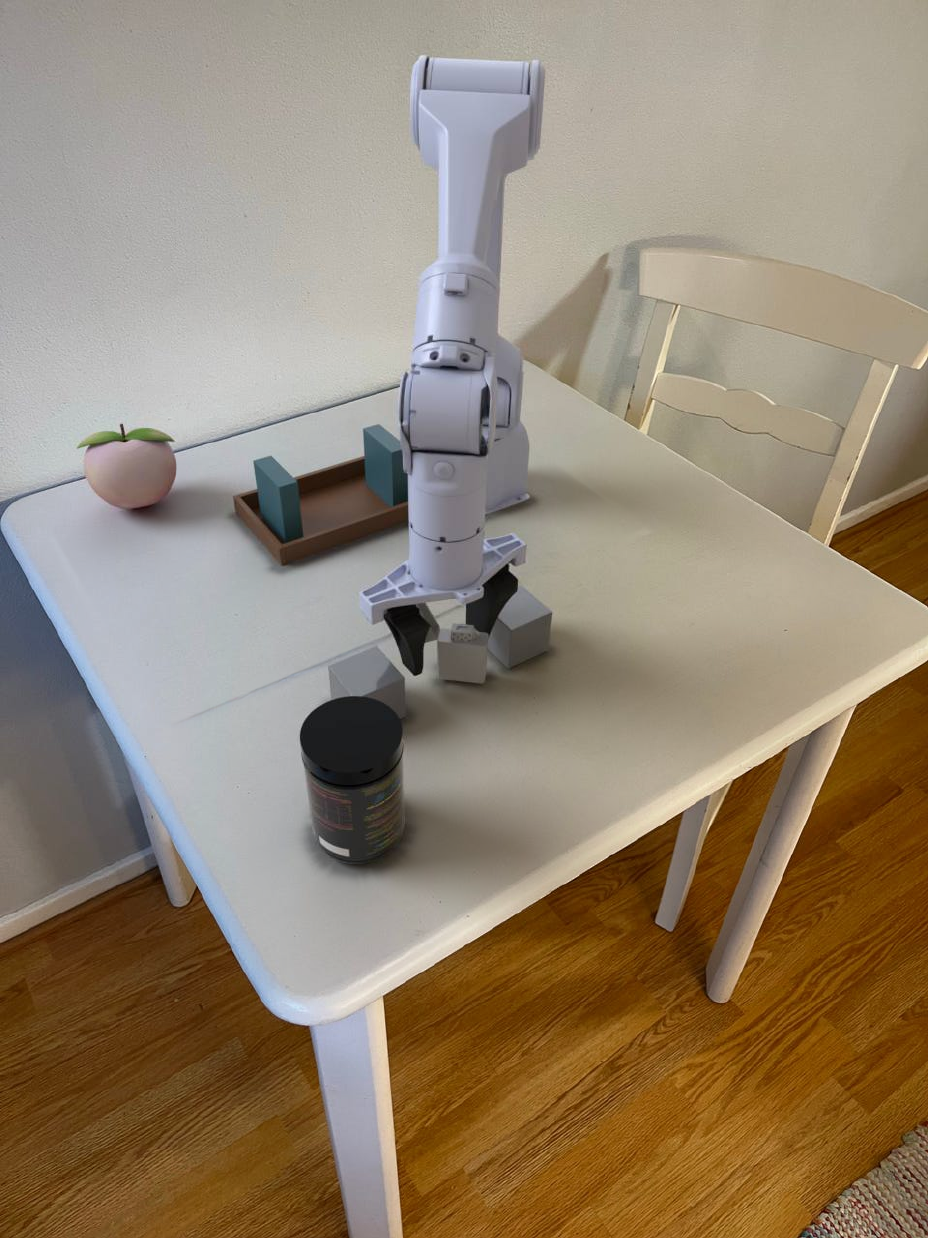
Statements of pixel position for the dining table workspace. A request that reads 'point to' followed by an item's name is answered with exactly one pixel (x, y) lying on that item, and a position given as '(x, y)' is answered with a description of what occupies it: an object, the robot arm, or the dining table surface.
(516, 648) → the grey cube
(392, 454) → the slab
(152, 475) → the decorative fruit
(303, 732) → the supplement container
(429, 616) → the lighter
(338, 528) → the tray
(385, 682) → the grey cube
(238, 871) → the dining table surface
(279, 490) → the slab
